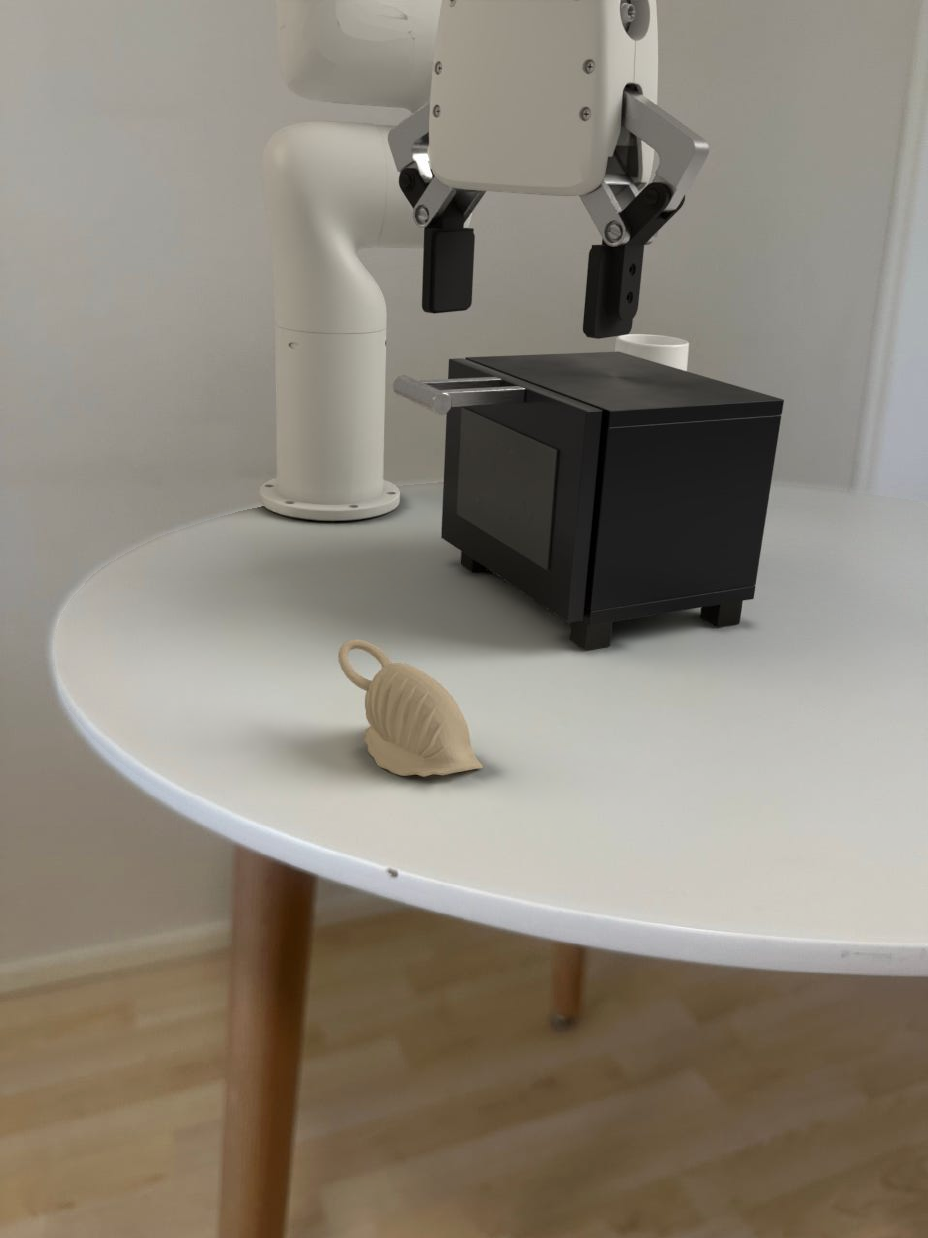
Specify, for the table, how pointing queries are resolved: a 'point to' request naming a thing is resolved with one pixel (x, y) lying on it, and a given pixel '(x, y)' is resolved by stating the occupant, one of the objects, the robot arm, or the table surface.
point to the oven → (664, 486)
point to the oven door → (516, 479)
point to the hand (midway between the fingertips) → (523, 322)
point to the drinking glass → (655, 349)
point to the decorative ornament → (410, 718)
